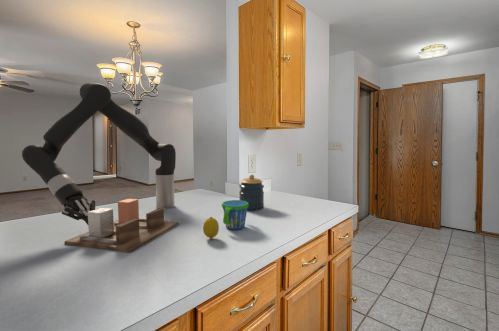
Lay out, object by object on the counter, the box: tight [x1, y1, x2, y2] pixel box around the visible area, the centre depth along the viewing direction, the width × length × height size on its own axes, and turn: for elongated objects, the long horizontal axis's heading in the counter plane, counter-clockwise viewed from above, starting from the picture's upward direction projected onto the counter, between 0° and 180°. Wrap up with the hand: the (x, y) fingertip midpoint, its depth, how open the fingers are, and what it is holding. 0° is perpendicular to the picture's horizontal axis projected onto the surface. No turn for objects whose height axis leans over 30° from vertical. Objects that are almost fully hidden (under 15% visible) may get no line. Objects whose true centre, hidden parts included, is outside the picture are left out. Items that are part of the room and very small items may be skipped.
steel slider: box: [87, 207, 115, 238], centre depth 95 cm, size 5×6×9 cm
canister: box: [238, 174, 265, 212], centre depth 141 cm, size 13×13×18 cm
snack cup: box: [221, 199, 249, 231], centre depth 109 cm, size 16×10×10 cm
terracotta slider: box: [117, 198, 140, 223], centre depth 111 cm, size 5×6×9 cm
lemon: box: [202, 216, 220, 240], centre depth 97 cm, size 6×6×8 cm
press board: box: [64, 208, 180, 253], centre depth 102 cm, size 26×30×7 cm
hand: (94, 225), depth 96 cm, fingers closed
